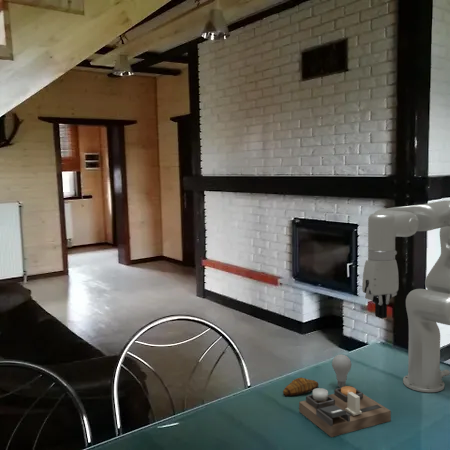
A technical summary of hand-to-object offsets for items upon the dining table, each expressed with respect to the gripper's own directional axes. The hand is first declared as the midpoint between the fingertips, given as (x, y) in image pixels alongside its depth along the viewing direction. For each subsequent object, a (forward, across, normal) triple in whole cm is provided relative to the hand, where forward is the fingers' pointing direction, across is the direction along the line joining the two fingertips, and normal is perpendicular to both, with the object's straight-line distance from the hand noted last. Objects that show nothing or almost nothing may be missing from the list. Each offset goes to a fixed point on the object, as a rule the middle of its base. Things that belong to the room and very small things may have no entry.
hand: (380, 316), depth 148 cm
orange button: (+24, +9, -4) cm, 26 cm away
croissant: (+28, +16, -18) cm, 37 cm away
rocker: (+23, +21, +6) cm, 31 cm away
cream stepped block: (+24, +14, +6) cm, 28 cm away
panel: (+27, +14, +1) cm, 31 cm away
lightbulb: (+27, +3, -15) cm, 31 cm away
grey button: (+22, +19, -4) cm, 30 cm away
